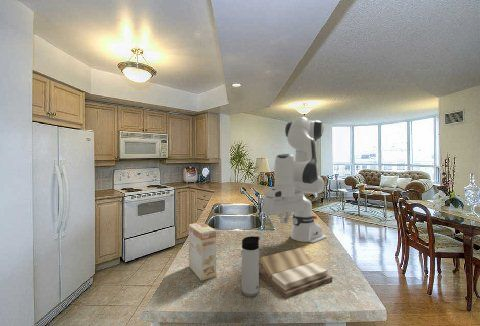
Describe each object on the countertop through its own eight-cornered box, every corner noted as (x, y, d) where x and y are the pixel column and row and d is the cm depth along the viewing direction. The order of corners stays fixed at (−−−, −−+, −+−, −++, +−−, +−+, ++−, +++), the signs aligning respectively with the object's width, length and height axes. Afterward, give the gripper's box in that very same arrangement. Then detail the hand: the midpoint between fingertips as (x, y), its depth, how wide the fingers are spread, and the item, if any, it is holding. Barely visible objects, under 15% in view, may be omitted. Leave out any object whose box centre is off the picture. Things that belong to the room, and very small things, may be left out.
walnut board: (297, 260, 109) (297, 257, 109) (332, 280, 91) (332, 276, 91) (255, 272, 97) (255, 269, 97) (285, 297, 80) (285, 293, 80)
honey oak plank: (299, 250, 106) (300, 247, 105) (310, 264, 100) (312, 262, 99) (260, 260, 96) (261, 257, 95) (269, 277, 90) (271, 274, 89)
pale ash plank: (312, 267, 99) (312, 262, 99) (327, 275, 92) (327, 270, 92) (271, 279, 89) (271, 274, 89) (284, 290, 82) (284, 284, 82)
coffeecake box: (217, 276, 94) (216, 230, 94) (200, 281, 90) (200, 233, 90) (202, 262, 107) (202, 221, 106) (188, 266, 103) (188, 223, 102)
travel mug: (262, 295, 81) (262, 239, 81) (244, 298, 79) (244, 241, 79) (256, 285, 87) (256, 234, 87) (239, 288, 85) (239, 236, 85)
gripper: (297, 188, 106) (297, 218, 106) (261, 191, 96) (261, 224, 97) (307, 190, 100) (307, 221, 101) (269, 193, 91) (269, 228, 91)
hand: (284, 222), depth 99 cm, fingers closed
